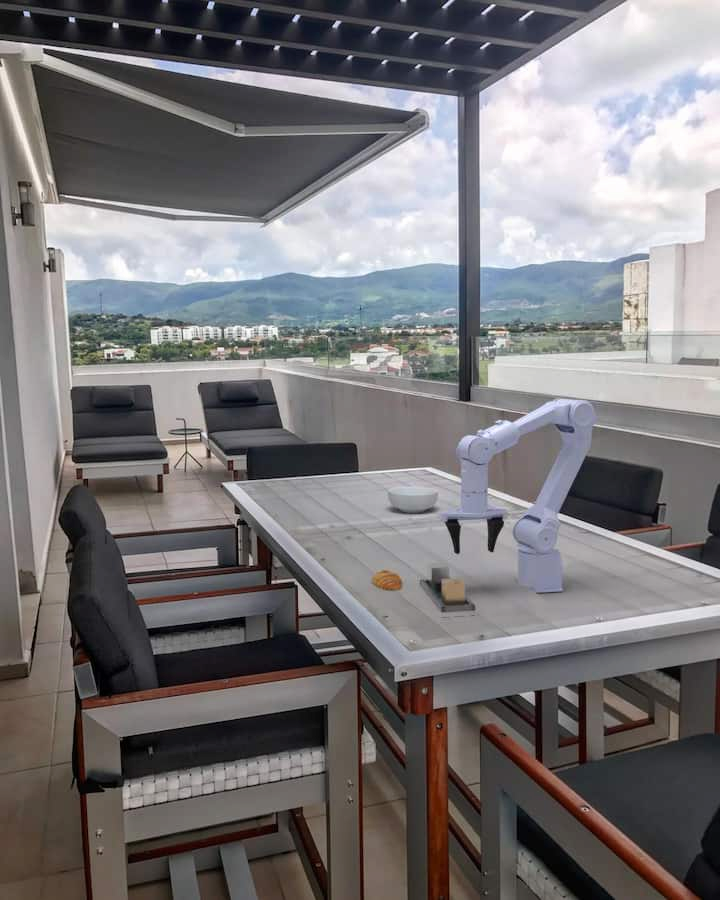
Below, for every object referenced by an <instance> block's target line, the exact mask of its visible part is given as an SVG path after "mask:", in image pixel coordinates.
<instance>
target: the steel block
mask: <svg viewBox="0 0 720 900" xmlns="http://www.w3.org/2000/svg"><path fill="white" fill-rule="evenodd" d="M426 573H427V585H428V586H429V587H430V588H431V590H436V592H442V579H449V578H450V567H449V565H448V564H447V563H446V562H430V563H429V562H428V563H427V571H426Z"/></svg>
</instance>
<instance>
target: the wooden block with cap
mask: <svg viewBox="0 0 720 900" xmlns="http://www.w3.org/2000/svg"><path fill="white" fill-rule="evenodd" d="M465 595H466V583H465V582H464V581H463V580H462V578H461V577H458V578H456V577H455V578H450V579H442V603H443V604H444V606H451V605H465Z"/></svg>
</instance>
